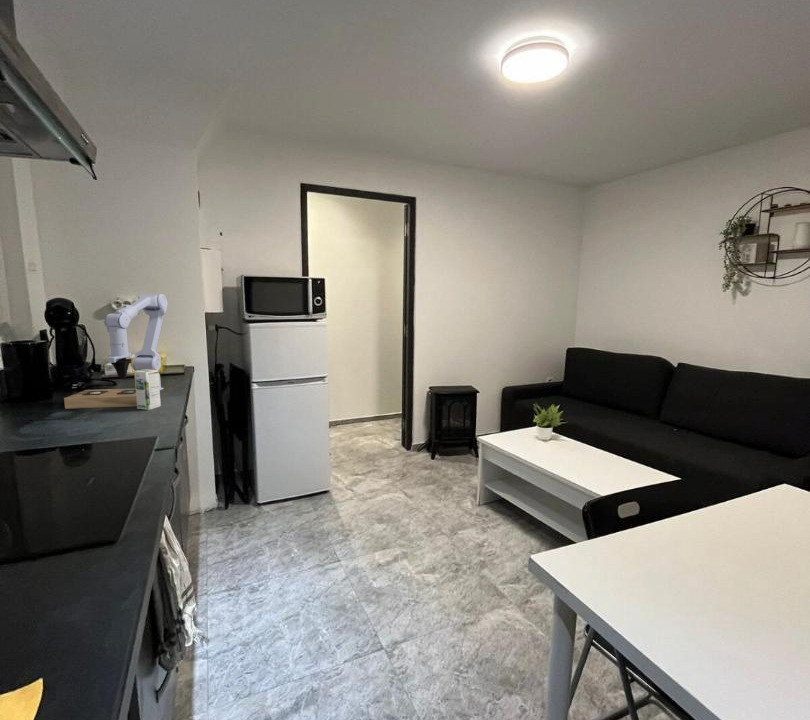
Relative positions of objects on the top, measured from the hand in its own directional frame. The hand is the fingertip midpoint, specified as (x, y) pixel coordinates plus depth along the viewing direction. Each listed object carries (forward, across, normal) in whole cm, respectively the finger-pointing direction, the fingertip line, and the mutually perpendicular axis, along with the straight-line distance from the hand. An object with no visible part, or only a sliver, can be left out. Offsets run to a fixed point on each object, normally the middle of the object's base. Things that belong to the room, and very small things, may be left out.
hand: (122, 377), depth 165 cm
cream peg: (+9, +3, -9) cm, 13 cm away
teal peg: (+9, +3, +3) cm, 10 cm away
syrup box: (+10, +13, +14) cm, 21 cm away
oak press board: (+10, +3, -3) cm, 10 cm away
